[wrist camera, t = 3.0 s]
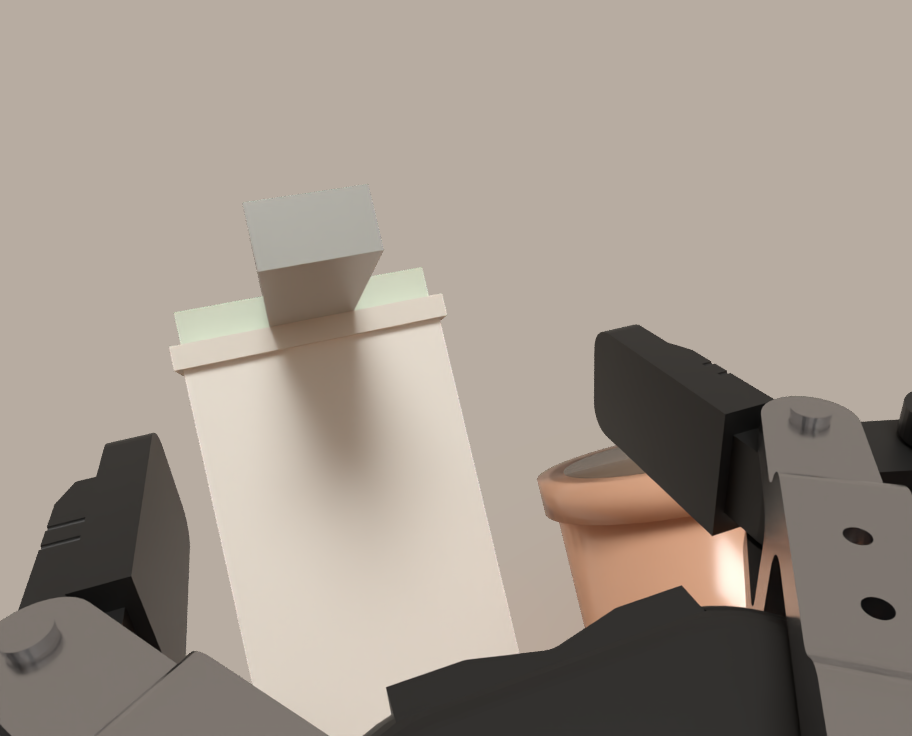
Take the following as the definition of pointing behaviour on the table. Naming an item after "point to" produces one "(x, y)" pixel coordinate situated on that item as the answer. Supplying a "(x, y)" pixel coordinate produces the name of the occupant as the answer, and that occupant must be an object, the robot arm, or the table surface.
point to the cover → (308, 265)
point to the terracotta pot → (635, 537)
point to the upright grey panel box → (346, 507)
